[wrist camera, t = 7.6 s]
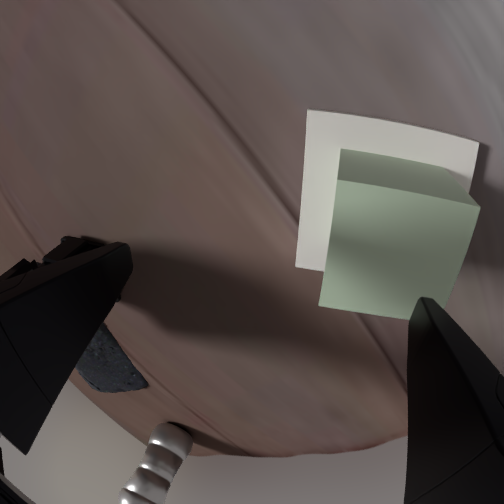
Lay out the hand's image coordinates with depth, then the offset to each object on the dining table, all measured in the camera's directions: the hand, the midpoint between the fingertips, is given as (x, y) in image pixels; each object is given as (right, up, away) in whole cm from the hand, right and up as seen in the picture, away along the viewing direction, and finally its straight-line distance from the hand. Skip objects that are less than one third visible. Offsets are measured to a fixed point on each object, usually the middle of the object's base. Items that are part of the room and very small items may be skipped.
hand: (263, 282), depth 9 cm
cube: (+7, +3, +8) cm, 11 cm away
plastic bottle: (-12, -27, +35) cm, 46 cm away
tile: (+8, +4, +9) cm, 13 cm away
